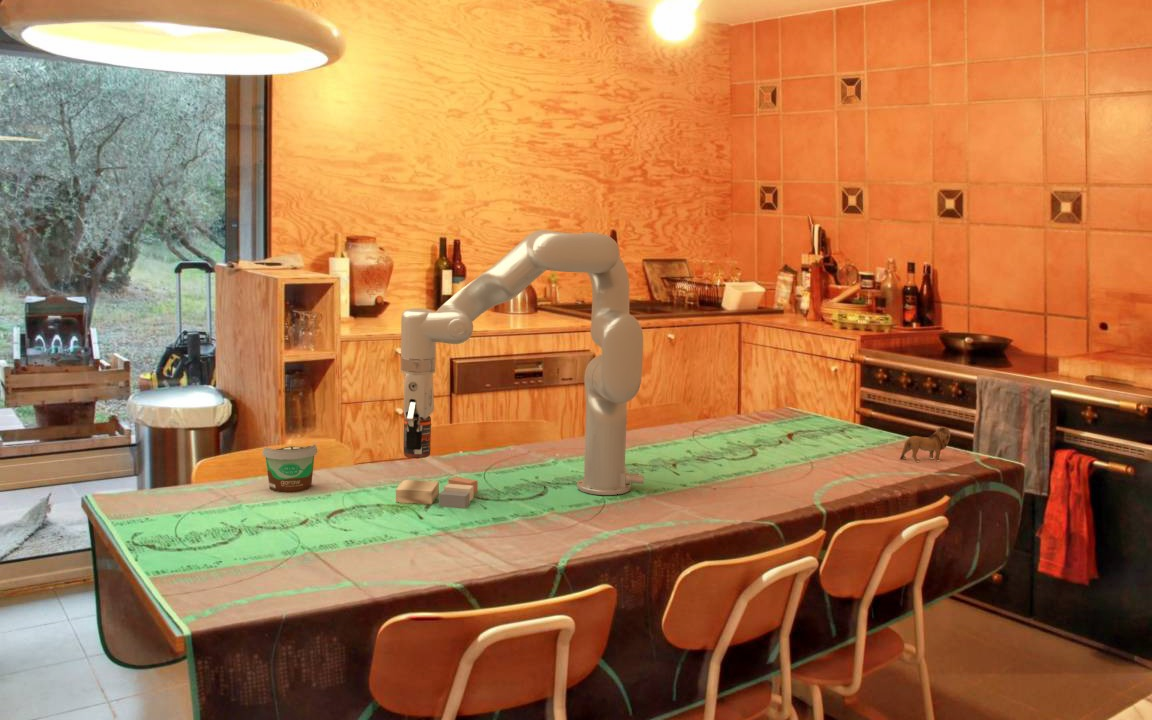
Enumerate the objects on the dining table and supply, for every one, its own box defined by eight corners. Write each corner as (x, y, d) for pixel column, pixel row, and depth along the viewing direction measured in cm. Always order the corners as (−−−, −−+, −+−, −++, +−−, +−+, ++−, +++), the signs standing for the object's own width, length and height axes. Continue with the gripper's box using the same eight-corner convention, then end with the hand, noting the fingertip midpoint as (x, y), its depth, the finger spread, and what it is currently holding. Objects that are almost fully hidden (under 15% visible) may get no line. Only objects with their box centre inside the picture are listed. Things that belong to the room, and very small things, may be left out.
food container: (268, 496, 235) (267, 452, 233) (262, 489, 240) (262, 446, 238) (323, 490, 240) (323, 447, 239) (317, 484, 246) (316, 441, 244)
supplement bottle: (425, 460, 231) (425, 409, 229) (399, 458, 232) (399, 407, 231) (434, 453, 237) (434, 404, 235) (408, 451, 238) (409, 402, 236)
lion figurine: (941, 456, 289) (943, 424, 288) (953, 461, 284) (955, 428, 283) (894, 459, 285) (896, 426, 284) (905, 464, 280) (908, 430, 279)
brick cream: (473, 498, 238) (473, 485, 238) (469, 502, 235) (469, 489, 235) (448, 496, 239) (448, 483, 239) (443, 500, 236) (443, 487, 236)
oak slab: (438, 494, 240) (438, 481, 239) (431, 504, 232) (431, 491, 232) (404, 492, 240) (404, 479, 240) (395, 502, 233) (395, 489, 232)
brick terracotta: (477, 493, 243) (477, 480, 242) (470, 496, 240) (470, 483, 239) (455, 489, 245) (456, 476, 245) (448, 492, 243) (448, 479, 242)
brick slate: (469, 505, 233) (469, 492, 232) (465, 509, 230) (465, 496, 229) (443, 503, 234) (443, 490, 233) (438, 507, 231) (439, 493, 230)
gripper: (426, 372, 223) (425, 455, 226) (442, 360, 240) (441, 437, 243) (391, 370, 223) (391, 454, 226) (410, 358, 240) (409, 436, 243)
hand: (417, 444), depth 234 cm, fingers closed on supplement bottle, 6 cm apart
